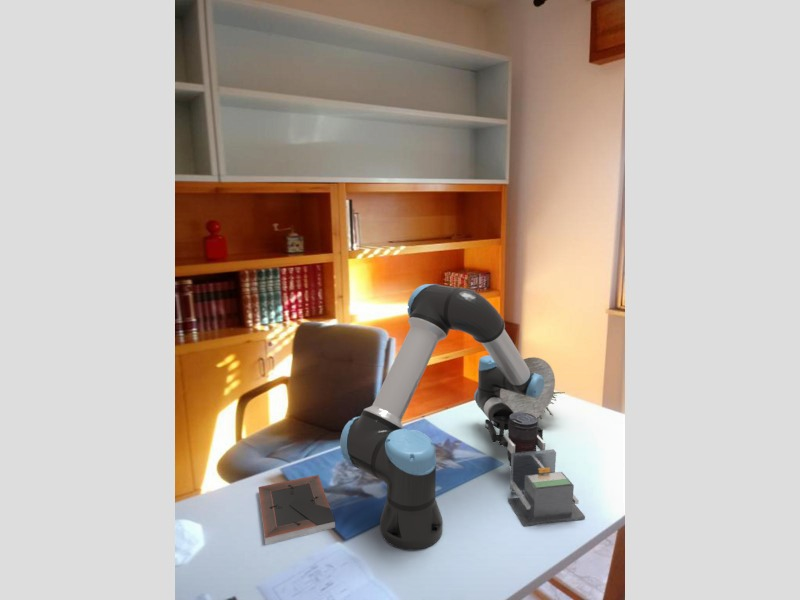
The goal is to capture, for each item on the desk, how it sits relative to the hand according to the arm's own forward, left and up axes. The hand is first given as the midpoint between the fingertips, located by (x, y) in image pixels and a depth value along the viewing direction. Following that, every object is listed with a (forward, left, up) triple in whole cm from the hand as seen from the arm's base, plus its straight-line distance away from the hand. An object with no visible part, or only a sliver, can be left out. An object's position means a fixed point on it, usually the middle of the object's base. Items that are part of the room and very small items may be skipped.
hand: (528, 449), depth 128 cm
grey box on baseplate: (0, -12, -11) cm, 16 cm away
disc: (+20, +42, -11) cm, 48 cm away
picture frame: (-64, 0, -12) cm, 65 cm away
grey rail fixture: (0, -9, -10) cm, 13 cm away
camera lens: (0, +5, -8) cm, 9 cm away
